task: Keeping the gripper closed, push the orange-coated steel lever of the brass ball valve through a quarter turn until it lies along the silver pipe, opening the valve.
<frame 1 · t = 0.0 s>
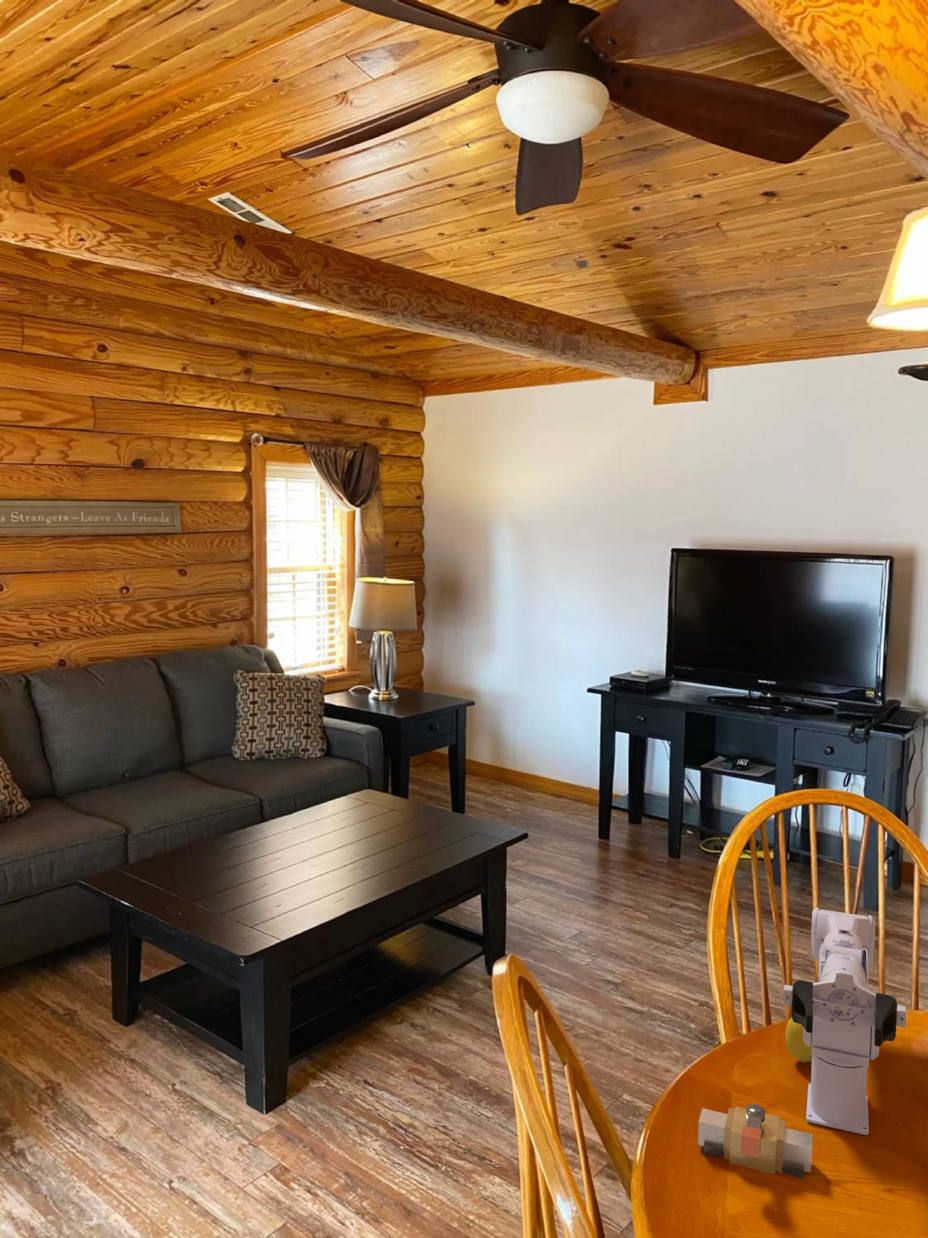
hand: (843, 1031, 111), 22 cm above the table, tool horizontal, fingers open, 7 cm apart
valve: (754, 1155, 122), on the table
lever: (753, 1127, 118), point 6 cm above the table, hinge at 0.0°
lemon: (803, 1063, 144), on the table
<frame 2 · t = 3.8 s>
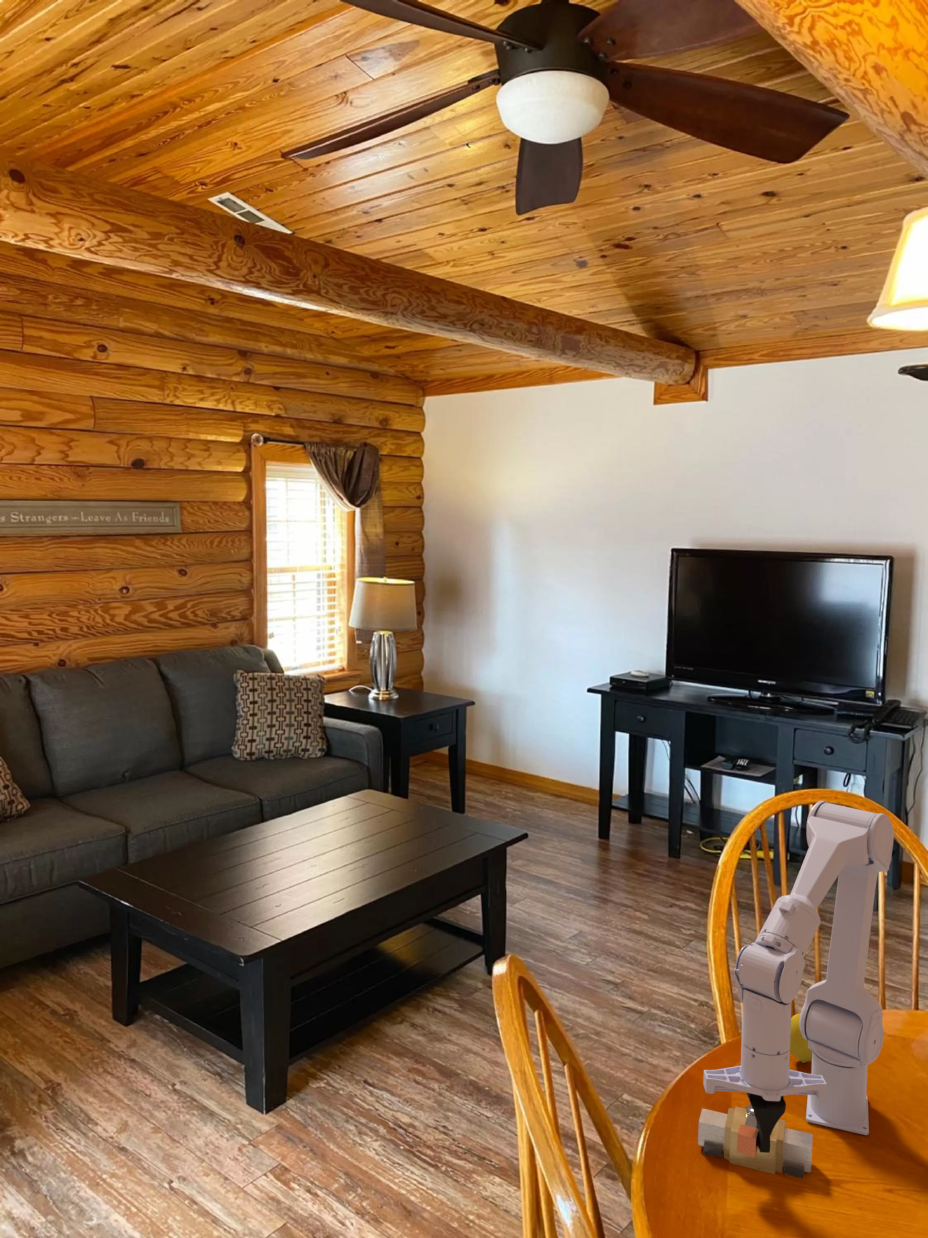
hand: (762, 1147, 116), 5 cm above the table, tool pointing down, fingers closed, pressing on lever
lever: (751, 1126, 118), point 6 cm above the table, hinge at -3.7°, touching gripper
everything else where it was.
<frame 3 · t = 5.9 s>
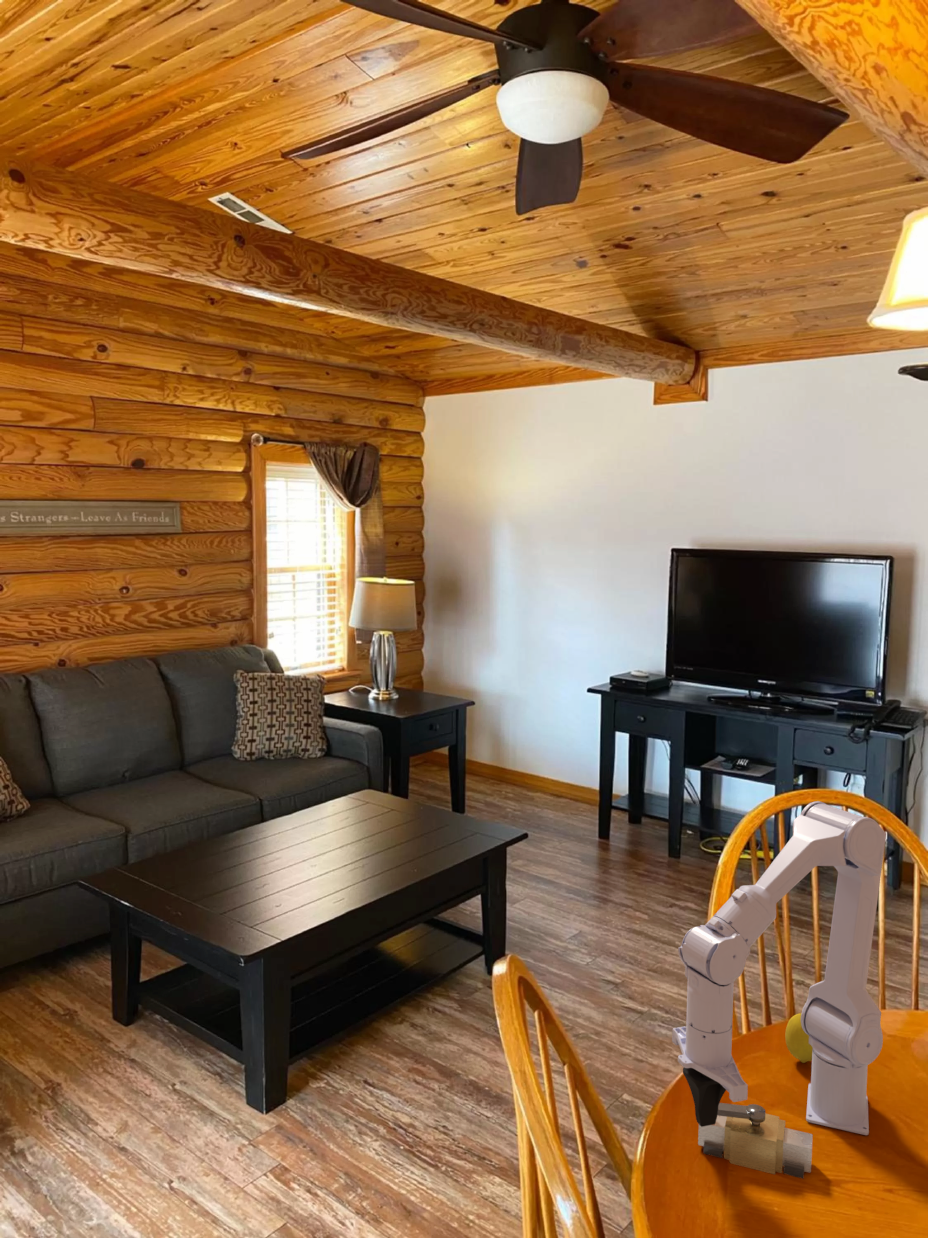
hand: (705, 1123, 120), 5 cm above the table, tool pointing down, fingers closed, pressing on lever
lever: (731, 1110, 122), point 6 cm above the table, hinge at -78.2°, touching gripper
everything else where it was.
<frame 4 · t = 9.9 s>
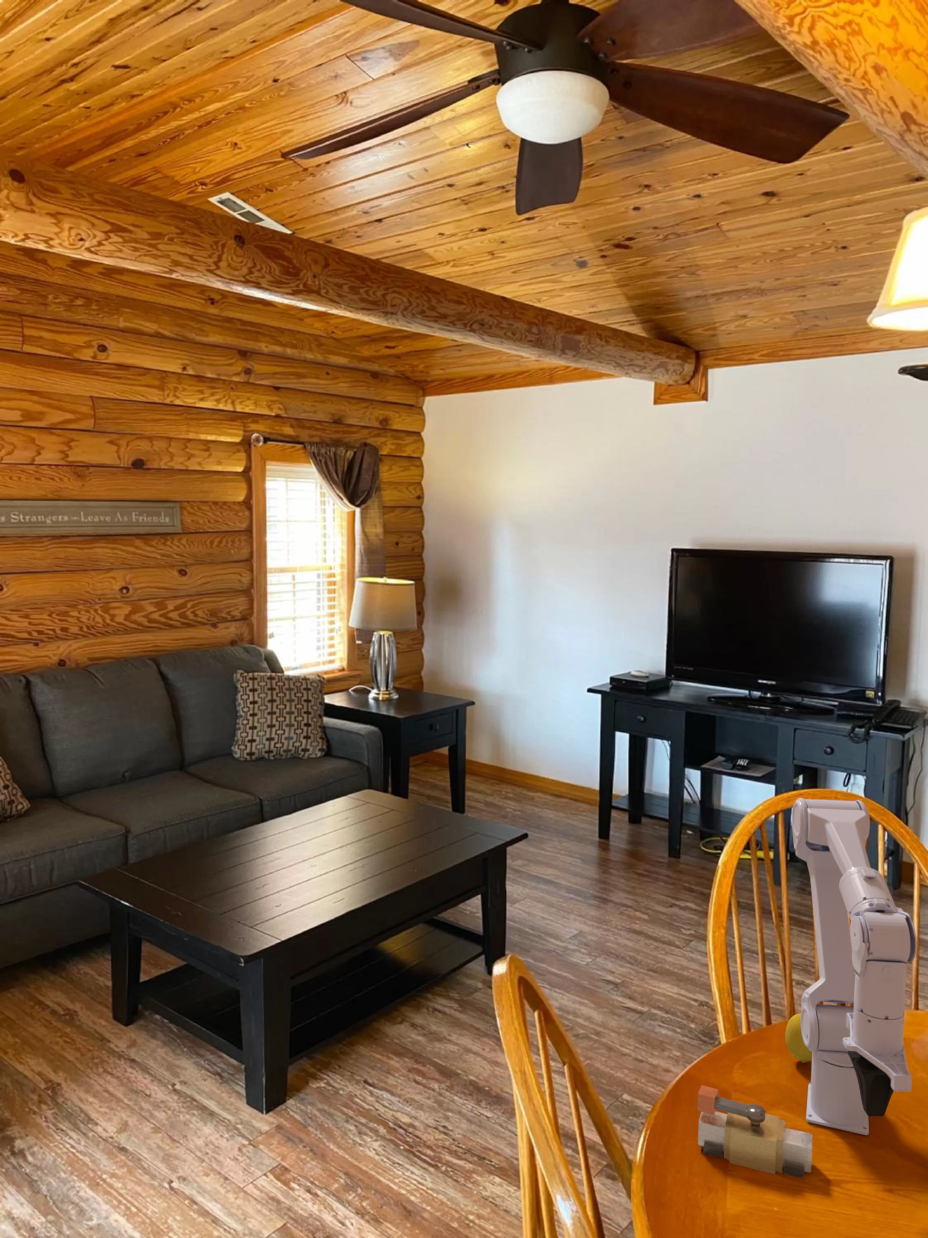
hand: (873, 1113, 116), 9 cm above the table, tool pointing down, fingers closed
lever: (731, 1107, 123), point 6 cm above the table, hinge at -94.6°
everything else where it was.
at the end: lever at -95° (first picture: +0°); lemon moved 0.2 cm from its start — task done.
